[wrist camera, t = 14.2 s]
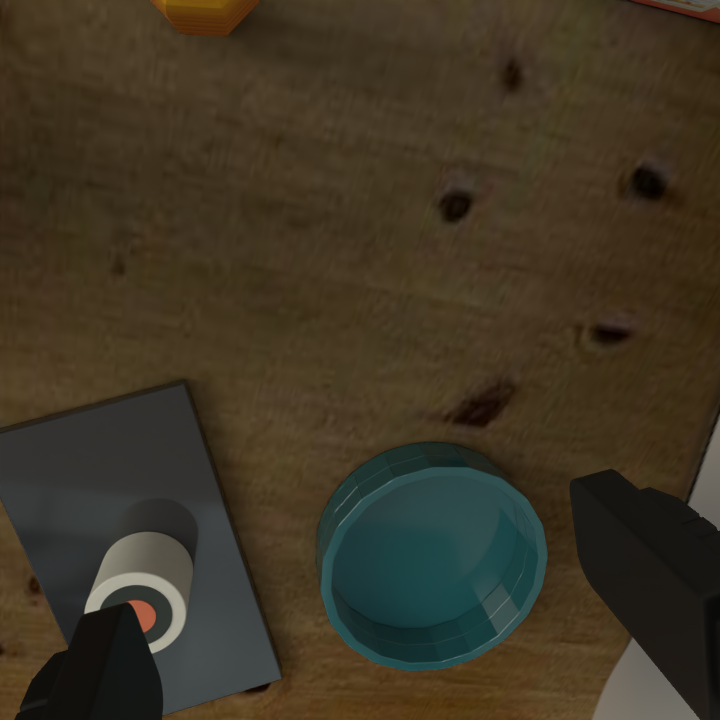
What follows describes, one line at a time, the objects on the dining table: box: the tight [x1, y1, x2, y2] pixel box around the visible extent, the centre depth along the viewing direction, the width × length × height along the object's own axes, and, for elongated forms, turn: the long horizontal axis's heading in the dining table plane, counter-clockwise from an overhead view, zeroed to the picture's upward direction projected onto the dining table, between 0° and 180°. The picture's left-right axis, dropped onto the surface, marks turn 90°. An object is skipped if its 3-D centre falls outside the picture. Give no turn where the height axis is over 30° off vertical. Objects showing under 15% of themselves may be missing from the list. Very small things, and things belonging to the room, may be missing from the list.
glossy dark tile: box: [0, 379, 283, 716], centre depth 37 cm, size 11×20×1 cm, turn 13°
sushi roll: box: [84, 532, 193, 653], centre depth 35 cm, size 5×5×4 cm
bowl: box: [316, 442, 548, 671], centre depth 39 cm, size 13×13×4 cm
